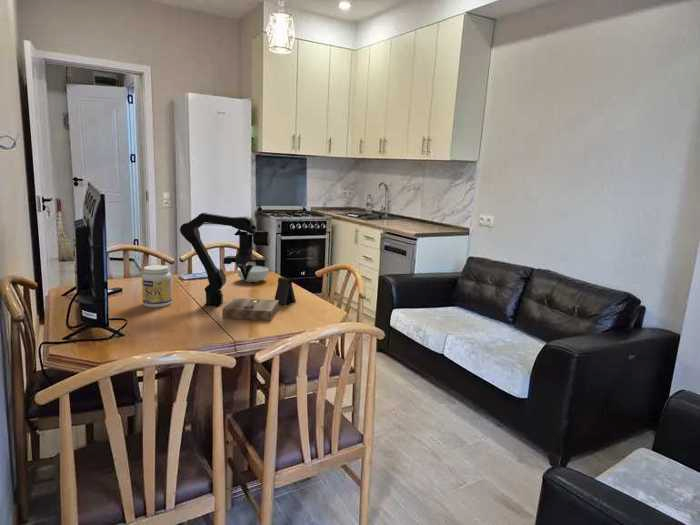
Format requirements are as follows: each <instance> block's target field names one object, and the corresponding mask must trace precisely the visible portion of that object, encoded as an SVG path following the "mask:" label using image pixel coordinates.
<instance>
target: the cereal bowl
mask: <svg viewBox="0 0 700 525" xmlns="http://www.w3.org/2000/svg"><path fill="white" fill-rule="evenodd" d="M268 275H269V268H268V267H266V266H257V265H255V266H253V267H252V269H251V271H250V273H249V276H248V278H247V280H244V277H243V274H242V272H241V270H240V268H239V267H238V268H237V276H238V277H239V279H240V280H243V281H245V282H246V283H251V282H255V283H258V282H259V281H260V282H261V281H263V280H265V279H266V278H267V277H268ZM260 282H259V283H260Z"/></svg>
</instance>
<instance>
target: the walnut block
mask: <svg viewBox="0 0 700 525" xmlns="http://www.w3.org/2000/svg"><path fill="white" fill-rule="evenodd" d="M253 300H257V301H258V303H255V302H251V301H253ZM245 307H252V309H245ZM279 308H280V305H279V300H274V299H262V298H236V297H234V298H233V299H231V301H229V302H228V303H227V304H226V305H225V306H224V307H223V308H222V312H221V314H222V319H226V318H227V320H228V319H229V320H247V319H252V320H253V321H268V320H271V319H272V320H273V318H275V315H276V314H277V313H278V311H279ZM272 320H271V321H272Z"/></svg>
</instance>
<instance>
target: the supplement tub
mask: <svg viewBox="0 0 700 525" xmlns="http://www.w3.org/2000/svg"><path fill="white" fill-rule="evenodd" d="M172 277H173V276H172V273H171V272H170V266H168V265H166V264H165V265H162V264H154V265H146V266H143V273H142V275H141V286H142V287H141V289H142V304H143V305H144V306H145V307H147V308H163V307H167V306H169V305H171V304H172V302H173V281H172V280H173V279H172Z"/></svg>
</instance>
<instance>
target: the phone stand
mask: <svg viewBox="0 0 700 525" xmlns="http://www.w3.org/2000/svg"><path fill="white" fill-rule="evenodd" d="M273 300H279V306H280V305H281V306H280V307H286V306H289V305H291V303H292V304H295V303H296V302H297V300H296V296H295V293H294V289H293V280H292V278H288V277H282V276H281V277H278V279H277V286H276V292H275V295H274V299H273ZM285 305H286V306H285Z"/></svg>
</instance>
